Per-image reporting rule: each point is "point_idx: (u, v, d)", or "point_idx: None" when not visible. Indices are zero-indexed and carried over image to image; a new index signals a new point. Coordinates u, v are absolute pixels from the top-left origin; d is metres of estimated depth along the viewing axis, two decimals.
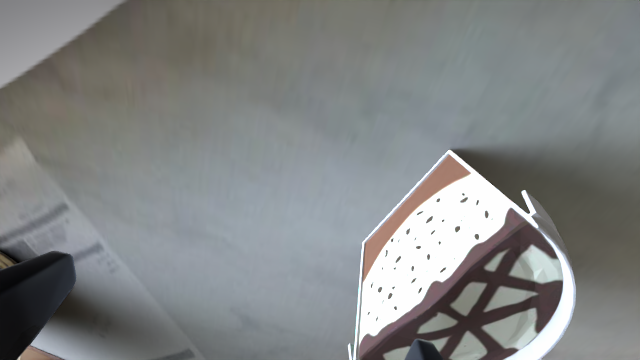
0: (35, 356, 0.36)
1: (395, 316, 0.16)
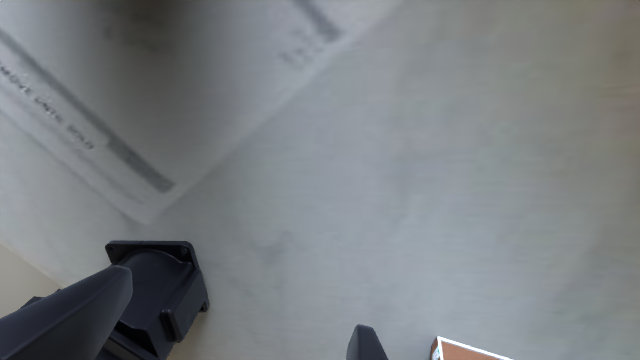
0: None
1: None
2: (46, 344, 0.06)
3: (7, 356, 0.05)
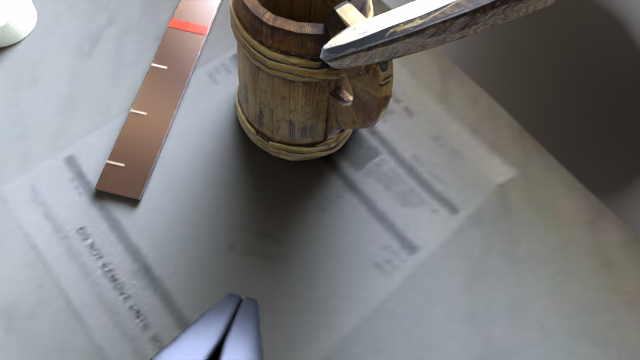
0: (148, 137, 0.23)
1: None
2: None
3: None
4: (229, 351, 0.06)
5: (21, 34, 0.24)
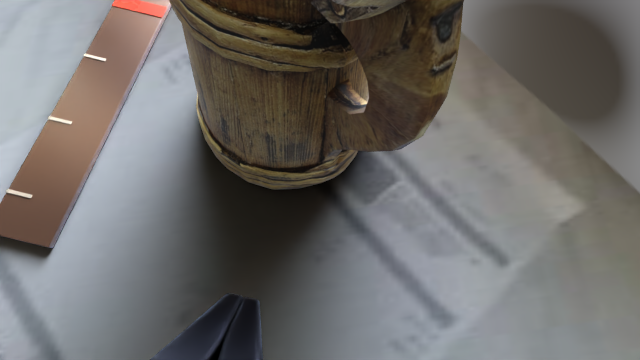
0: (71, 156, 0.16)
1: None
2: None
3: None
4: (229, 351, 0.06)
5: None
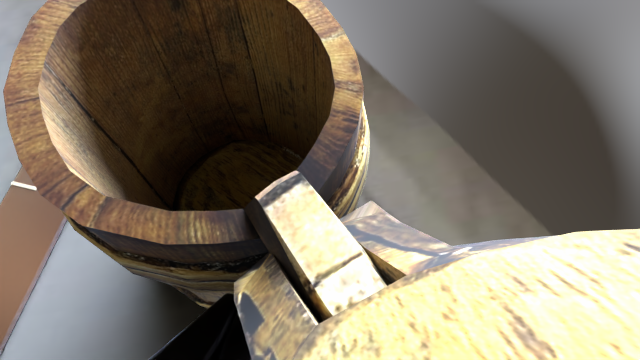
0: None
1: None
2: None
3: None
4: (230, 351, 0.06)
5: None
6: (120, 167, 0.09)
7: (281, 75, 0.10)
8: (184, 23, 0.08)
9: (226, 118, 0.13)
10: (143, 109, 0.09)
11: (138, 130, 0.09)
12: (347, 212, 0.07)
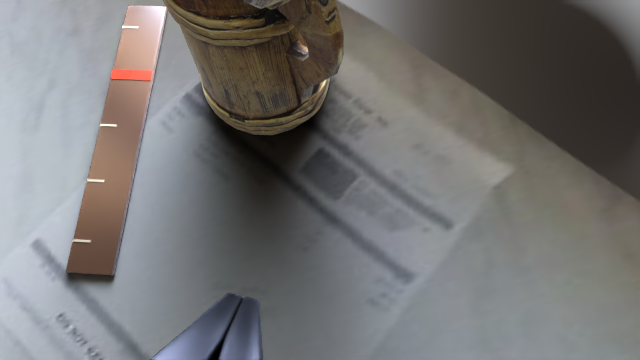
0: (110, 206, 0.21)
1: None
2: None
3: None
4: (229, 351, 0.06)
5: None
6: None
7: None
8: None
9: None
10: None
11: None
12: None
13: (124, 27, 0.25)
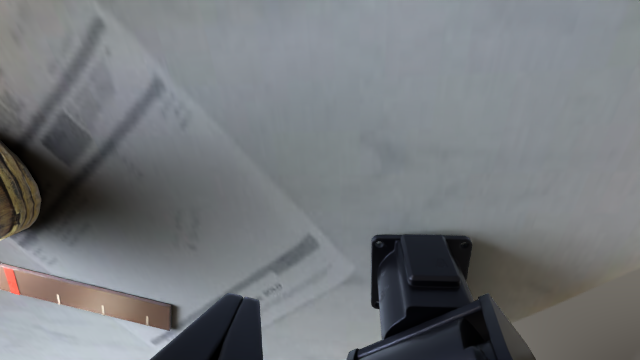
0: (120, 303, 0.28)
1: None
2: None
3: None
4: (229, 351, 0.06)
5: None
6: None
7: None
8: None
9: None
10: None
11: None
12: None
13: None
